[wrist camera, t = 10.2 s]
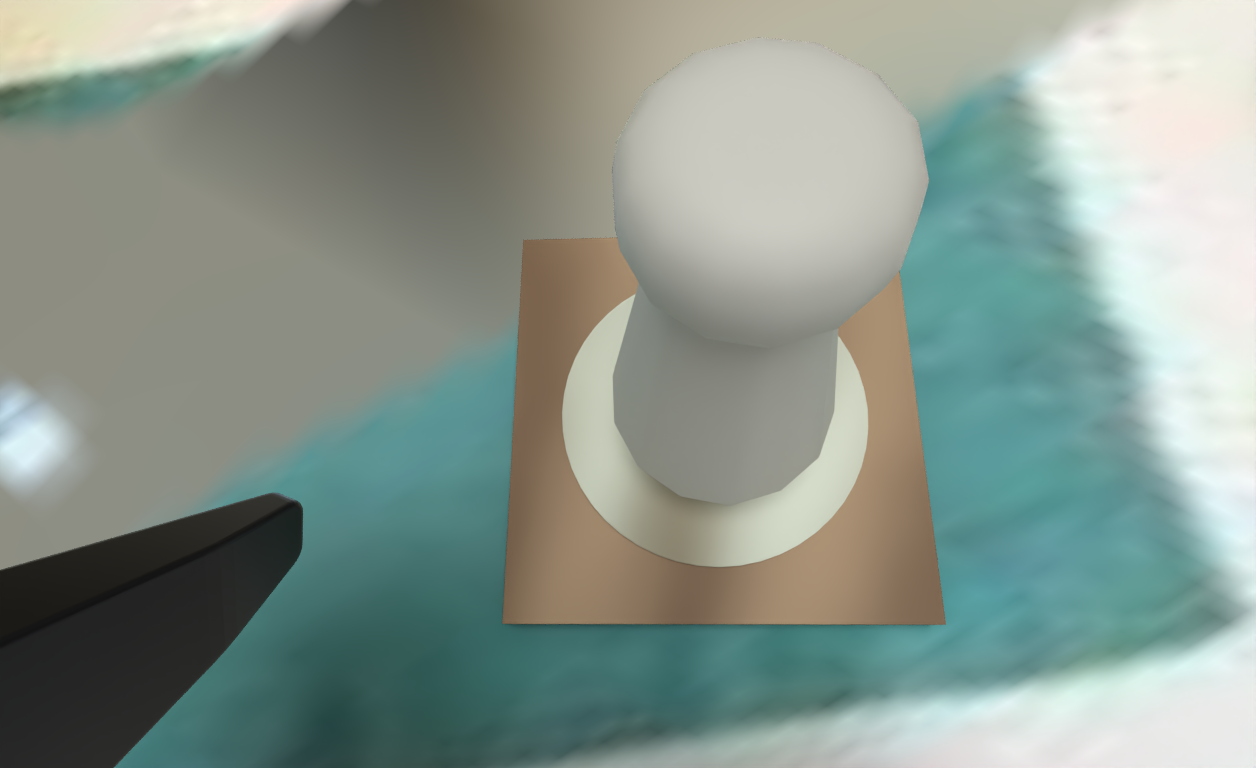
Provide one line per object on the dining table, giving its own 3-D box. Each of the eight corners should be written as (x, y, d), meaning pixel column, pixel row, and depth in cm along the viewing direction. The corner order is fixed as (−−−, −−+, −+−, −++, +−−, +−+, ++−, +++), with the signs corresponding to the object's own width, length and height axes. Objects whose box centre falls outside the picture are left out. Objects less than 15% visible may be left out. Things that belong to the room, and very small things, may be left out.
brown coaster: (511, 624, 21) (500, 623, 20) (530, 257, 25) (522, 236, 24) (930, 624, 21) (948, 624, 19) (883, 249, 24) (895, 227, 23)
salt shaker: (826, 344, 22) (1025, -19, 10) (805, 533, 20) (1016, 384, 8) (636, 316, 23) (596, -59, 10) (599, 497, 21) (498, 305, 9)
